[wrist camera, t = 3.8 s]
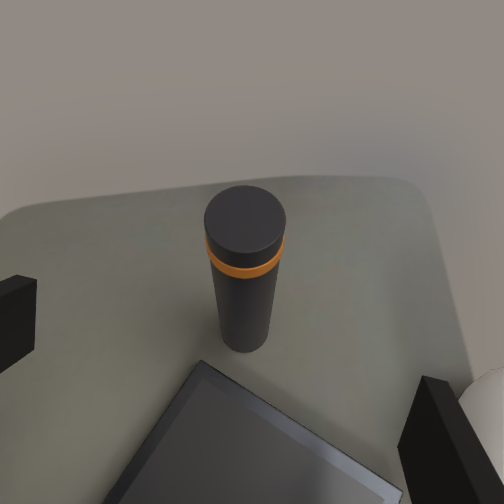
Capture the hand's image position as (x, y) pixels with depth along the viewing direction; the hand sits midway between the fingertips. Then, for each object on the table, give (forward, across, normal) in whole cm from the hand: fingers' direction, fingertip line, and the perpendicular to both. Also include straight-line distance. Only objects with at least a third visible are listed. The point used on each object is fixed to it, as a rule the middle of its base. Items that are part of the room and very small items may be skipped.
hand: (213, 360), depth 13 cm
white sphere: (+8, +16, -6) cm, 19 cm away
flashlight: (+10, 0, -4) cm, 11 cm away
